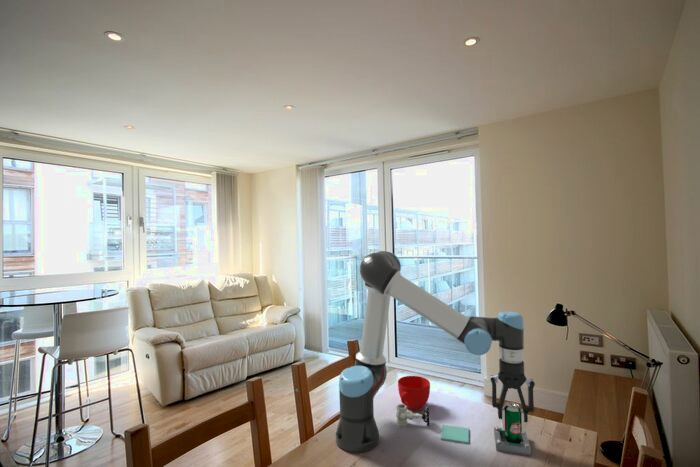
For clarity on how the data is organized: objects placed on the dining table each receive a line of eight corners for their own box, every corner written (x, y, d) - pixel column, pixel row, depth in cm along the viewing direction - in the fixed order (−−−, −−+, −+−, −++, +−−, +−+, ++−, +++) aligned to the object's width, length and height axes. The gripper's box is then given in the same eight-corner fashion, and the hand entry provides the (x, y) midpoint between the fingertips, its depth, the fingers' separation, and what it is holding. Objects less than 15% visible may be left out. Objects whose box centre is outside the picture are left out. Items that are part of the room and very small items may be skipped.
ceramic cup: (387, 412, 142) (387, 387, 142) (407, 396, 155) (406, 373, 155) (418, 422, 134) (417, 395, 134) (435, 404, 148) (435, 379, 148)
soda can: (512, 446, 115) (511, 409, 115) (501, 438, 120) (500, 402, 120) (525, 444, 117) (524, 407, 117) (513, 435, 122) (513, 400, 122)
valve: (396, 428, 130) (430, 430, 129) (395, 410, 130) (429, 412, 129) (396, 418, 137) (428, 420, 135) (396, 401, 137) (428, 403, 135)
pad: (440, 439, 122) (440, 438, 122) (442, 426, 131) (442, 424, 131) (468, 443, 120) (468, 442, 120) (468, 429, 128) (468, 428, 128)
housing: (496, 450, 115) (496, 441, 115) (494, 434, 125) (493, 425, 125) (530, 455, 112) (530, 446, 112) (525, 438, 122) (525, 429, 122)
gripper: (482, 361, 118) (484, 431, 118) (544, 366, 112) (545, 440, 112) (481, 353, 125) (483, 420, 125) (539, 358, 119) (541, 427, 119)
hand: (512, 429), depth 119 cm, fingers closed on soda can, 5 cm apart
